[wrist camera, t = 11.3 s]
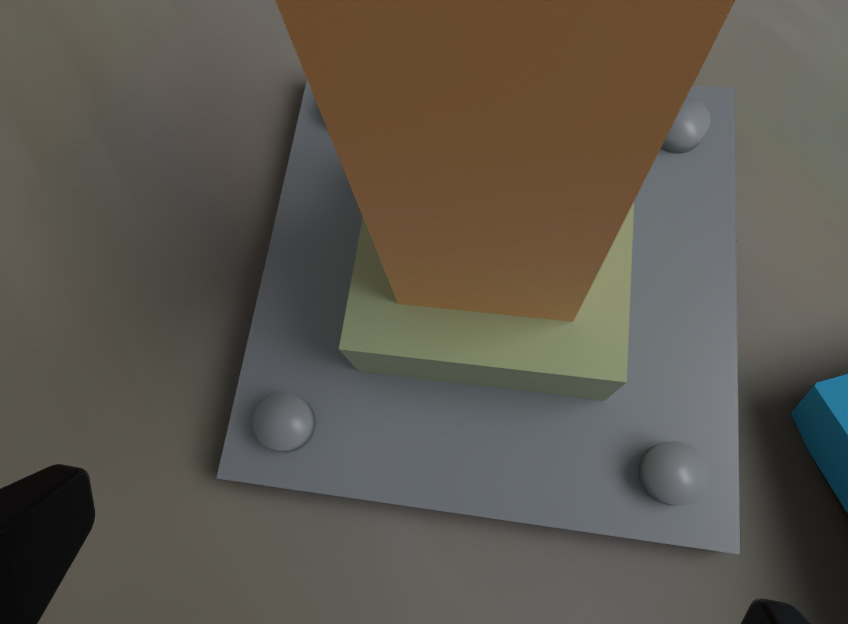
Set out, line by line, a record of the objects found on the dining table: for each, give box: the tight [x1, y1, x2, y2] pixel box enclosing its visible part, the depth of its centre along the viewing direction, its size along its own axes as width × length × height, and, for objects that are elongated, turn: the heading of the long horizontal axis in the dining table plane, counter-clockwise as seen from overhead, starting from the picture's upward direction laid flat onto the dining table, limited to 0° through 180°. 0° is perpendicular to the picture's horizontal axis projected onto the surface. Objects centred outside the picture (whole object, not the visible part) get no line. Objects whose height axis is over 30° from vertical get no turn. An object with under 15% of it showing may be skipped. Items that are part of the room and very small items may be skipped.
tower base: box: [216, 80, 740, 554], centre depth 20 cm, size 16×16×4 cm
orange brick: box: [276, 0, 735, 322], centre depth 12 cm, size 5×5×12 cm
